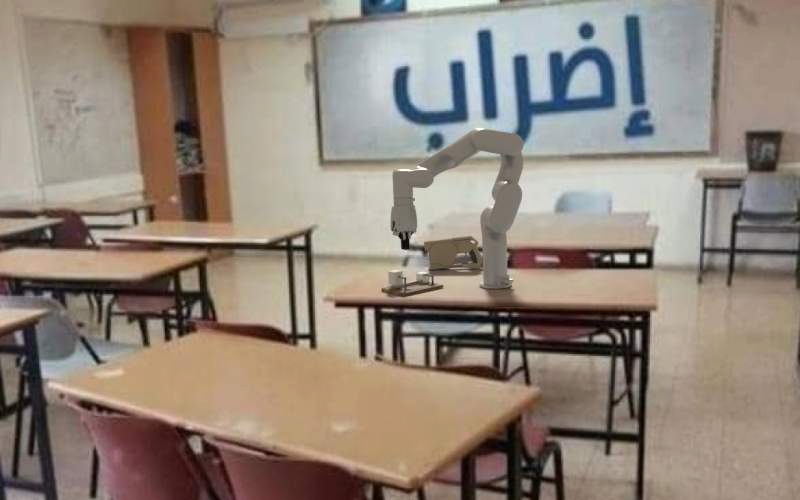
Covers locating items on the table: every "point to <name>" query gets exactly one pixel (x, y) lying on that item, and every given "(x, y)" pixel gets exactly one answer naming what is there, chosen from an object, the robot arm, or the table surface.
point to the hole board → (413, 289)
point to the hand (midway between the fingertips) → (405, 249)
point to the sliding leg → (396, 278)
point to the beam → (420, 278)
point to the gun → (452, 252)
